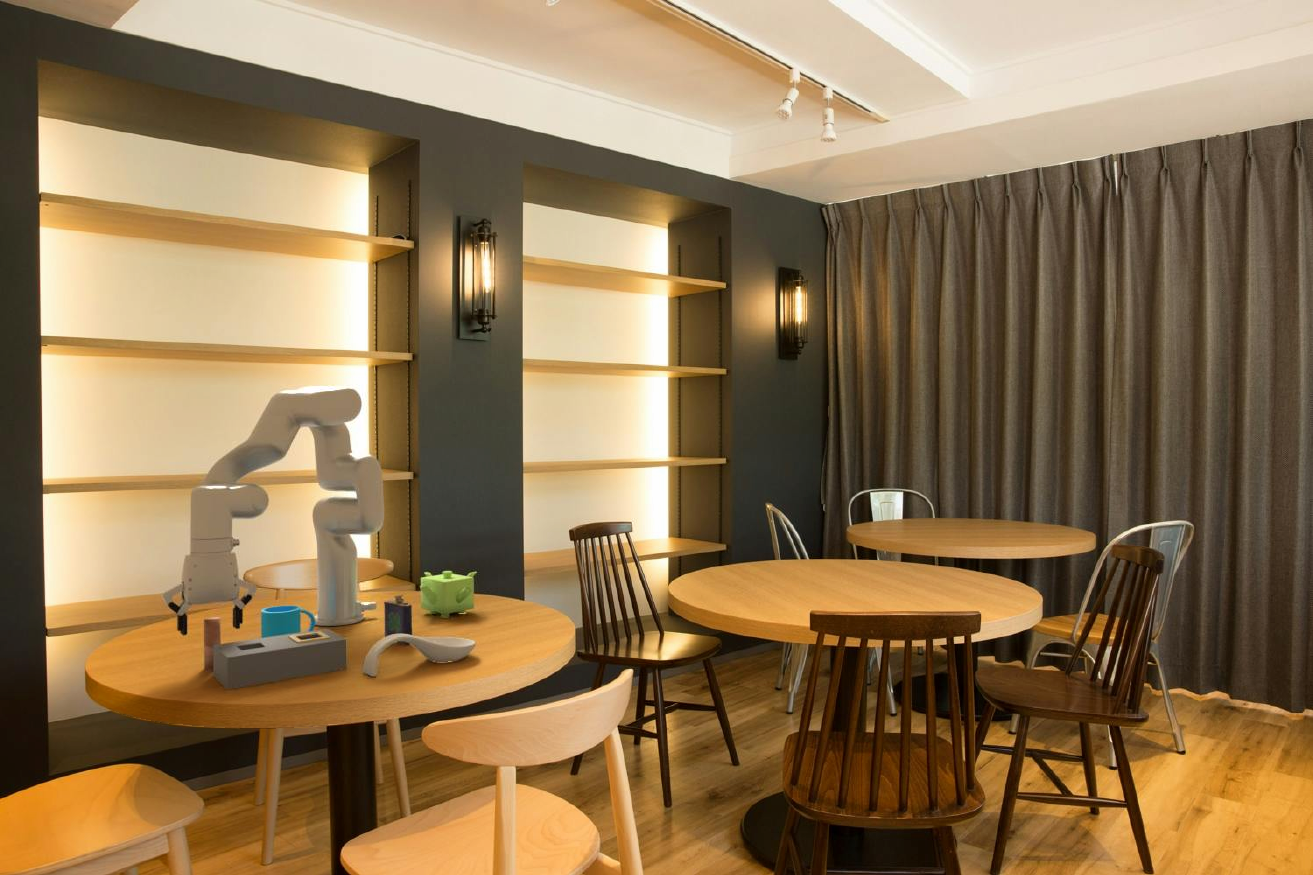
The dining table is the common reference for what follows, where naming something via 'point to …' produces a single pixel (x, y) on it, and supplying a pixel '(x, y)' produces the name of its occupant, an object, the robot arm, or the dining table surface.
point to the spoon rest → (421, 649)
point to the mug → (283, 620)
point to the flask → (398, 617)
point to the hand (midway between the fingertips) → (210, 630)
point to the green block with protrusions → (447, 593)
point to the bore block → (278, 658)
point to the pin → (211, 639)
